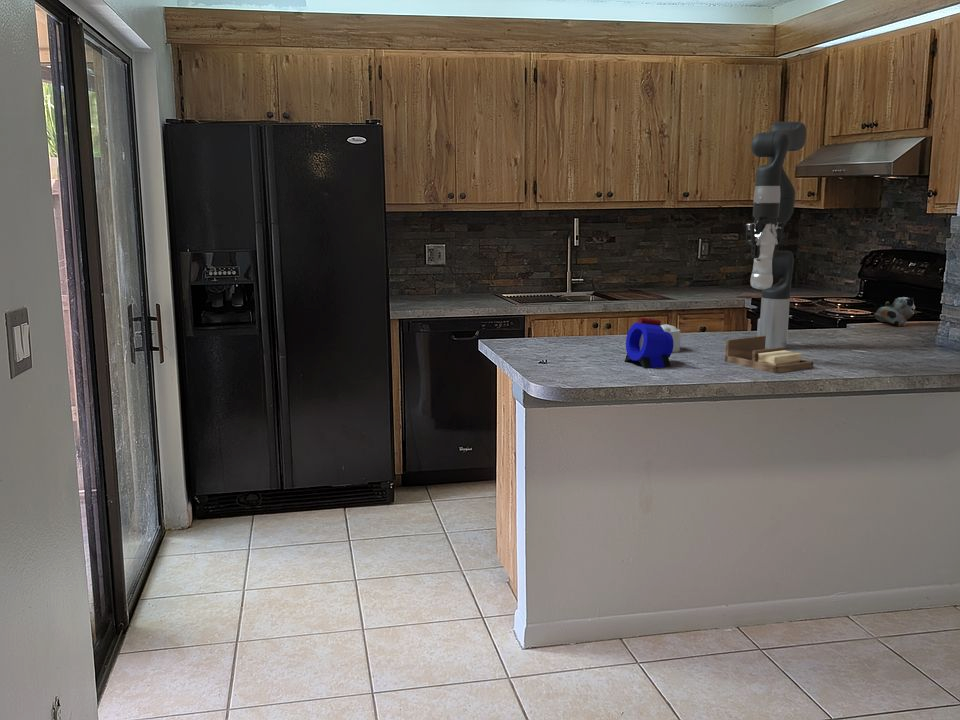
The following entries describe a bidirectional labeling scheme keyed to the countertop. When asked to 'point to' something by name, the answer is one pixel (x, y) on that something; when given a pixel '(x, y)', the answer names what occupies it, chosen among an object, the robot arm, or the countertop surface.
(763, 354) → the offcut top
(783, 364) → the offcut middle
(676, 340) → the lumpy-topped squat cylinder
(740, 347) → the walnut rack
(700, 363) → the countertop surface
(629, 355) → the alarm clock
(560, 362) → the countertop surface
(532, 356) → the countertop surface
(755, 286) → the silver metal bottle
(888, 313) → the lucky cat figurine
